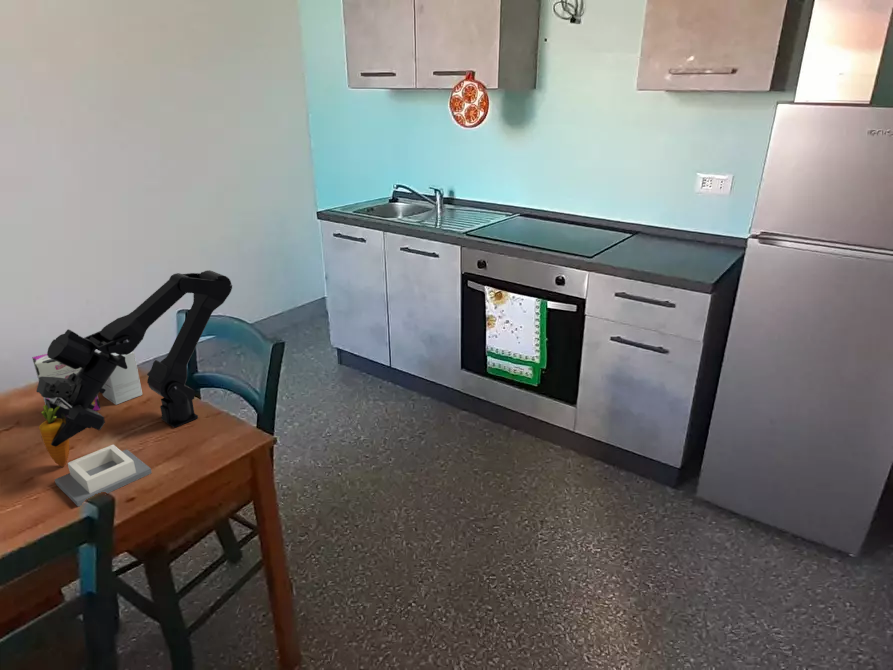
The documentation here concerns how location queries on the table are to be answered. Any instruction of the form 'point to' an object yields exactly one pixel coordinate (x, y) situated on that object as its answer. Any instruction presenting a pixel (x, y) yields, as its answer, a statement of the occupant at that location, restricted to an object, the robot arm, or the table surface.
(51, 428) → the carrot
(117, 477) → the socket
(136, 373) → the supplement box
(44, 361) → the candy bar box
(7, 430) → the table surface
